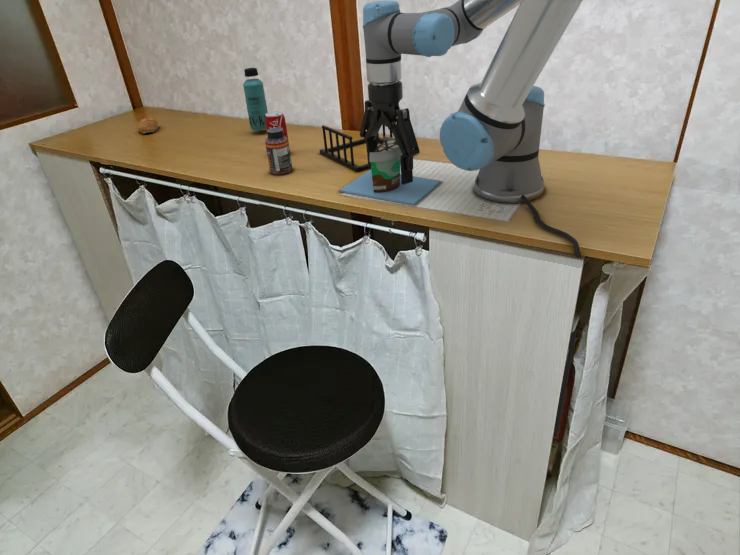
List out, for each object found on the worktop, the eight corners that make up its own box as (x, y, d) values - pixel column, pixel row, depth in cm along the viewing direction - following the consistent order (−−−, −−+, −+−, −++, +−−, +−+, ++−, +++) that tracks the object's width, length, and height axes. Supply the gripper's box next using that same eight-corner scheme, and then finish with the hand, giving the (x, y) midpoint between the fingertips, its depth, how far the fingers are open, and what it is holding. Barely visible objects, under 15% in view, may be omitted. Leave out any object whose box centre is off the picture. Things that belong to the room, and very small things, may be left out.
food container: (397, 196, 121) (395, 154, 116) (371, 195, 123) (368, 153, 117) (410, 176, 131) (409, 136, 125) (386, 175, 132) (384, 136, 127)
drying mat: (440, 182, 127) (440, 180, 127) (414, 205, 117) (413, 203, 117) (369, 171, 137) (369, 169, 136) (339, 191, 127) (339, 189, 127)
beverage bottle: (250, 131, 176) (238, 67, 165) (270, 128, 177) (259, 65, 167) (252, 136, 170) (240, 71, 160) (272, 133, 172) (262, 68, 161)
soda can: (272, 158, 151) (265, 116, 144) (270, 152, 155) (262, 111, 149) (291, 155, 152) (285, 113, 145) (288, 150, 156) (282, 108, 150)
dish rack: (414, 154, 145) (413, 123, 141) (357, 172, 137) (354, 139, 133) (373, 138, 160) (372, 110, 155) (319, 153, 152) (316, 124, 147)
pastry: (159, 133, 182) (155, 121, 180) (138, 136, 180) (134, 125, 178) (159, 126, 189) (156, 115, 187) (139, 129, 188) (136, 118, 186)
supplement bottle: (268, 170, 143) (260, 128, 137) (289, 165, 145) (283, 124, 139) (272, 177, 138) (265, 134, 132) (295, 172, 140) (288, 130, 134)
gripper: (435, 86, 107) (436, 185, 118) (367, 71, 125) (373, 158, 136) (405, 93, 103) (409, 194, 115) (340, 77, 122) (348, 165, 133)
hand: (389, 175), depth 125 cm, fingers open, 13 cm apart
